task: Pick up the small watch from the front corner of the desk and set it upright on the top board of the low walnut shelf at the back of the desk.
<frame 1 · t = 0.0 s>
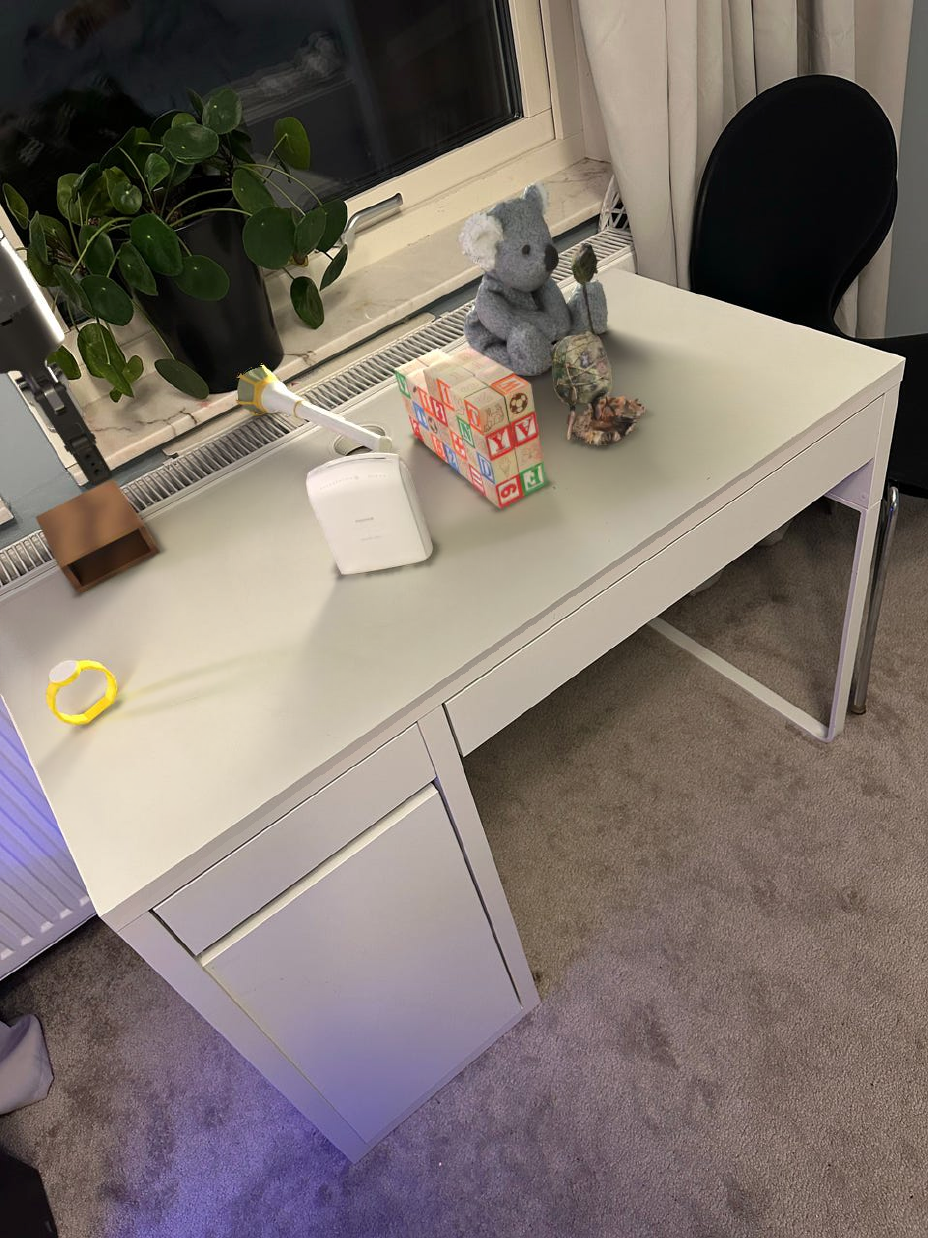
hand: (91, 464, 82), 16 cm above the table, tool pointing down, fingers open, 8 cm apart
stack of blocks: (476, 459, 98), on the table
photo printer: (386, 560, 88), on the table
light stick: (316, 429, 112), on the table
shelf: (106, 548, 101), on the table
watch: (98, 712, 80), on the table
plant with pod: (601, 430, 97), on the table
koala plush: (528, 345, 116), on the table
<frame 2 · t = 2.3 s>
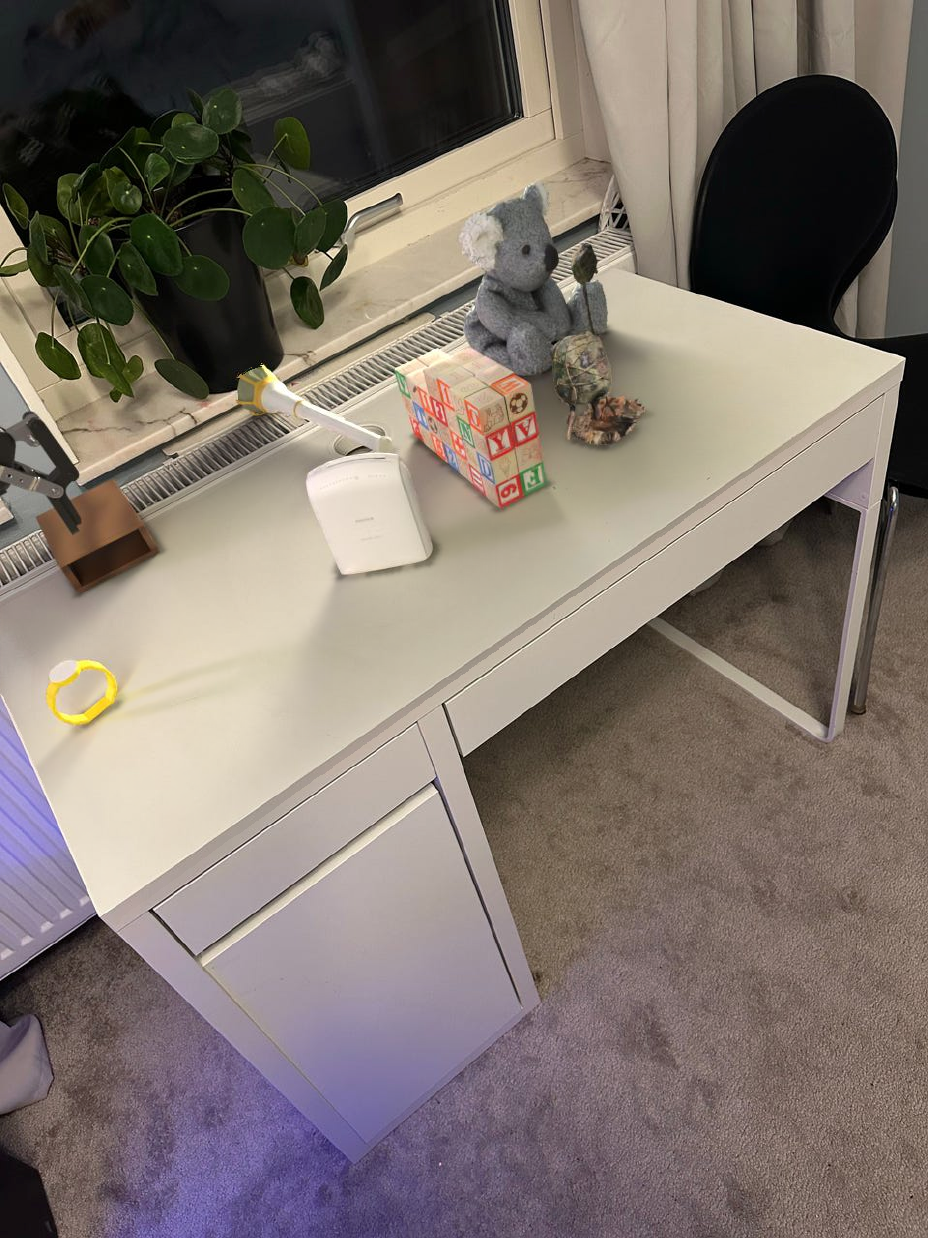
hand: (27, 555, 73), 16 cm above the table, tool pointing down, fingers open, 8 cm apart
nothing on the table moved.
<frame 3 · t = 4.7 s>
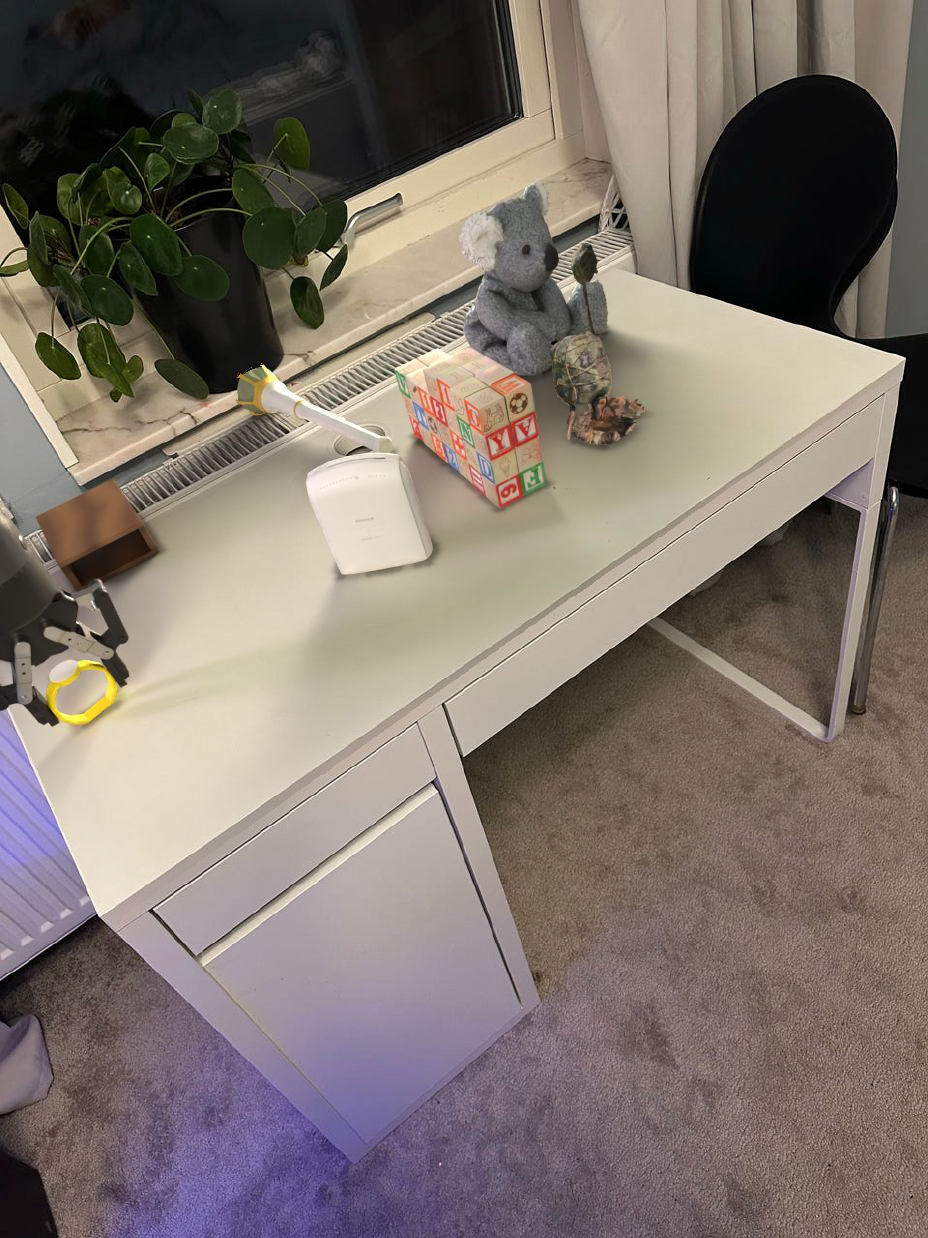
hand: (88, 700, 79), 2 cm above the table, tool pointing down, fingers closed on watch, 6 cm apart
watch: (98, 712, 80), on the table, touching gripper
everything else where it was.
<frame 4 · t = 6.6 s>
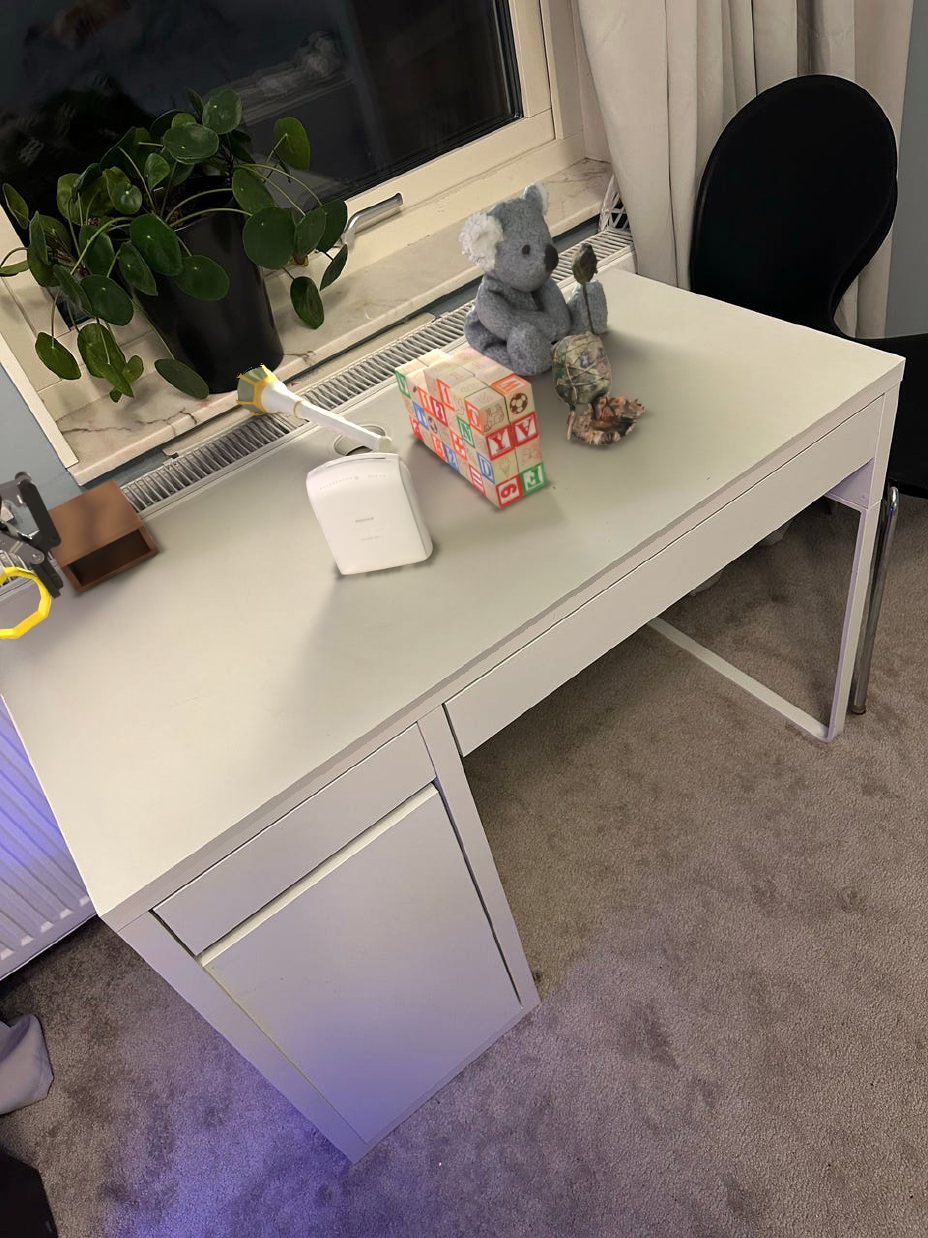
hand: (17, 612, 71), 13 cm above the table, tool pointing down, fingers closed on watch, 6 cm apart
watch: (30, 628, 72), point 11 cm above the table, touching gripper
everything else where it was.
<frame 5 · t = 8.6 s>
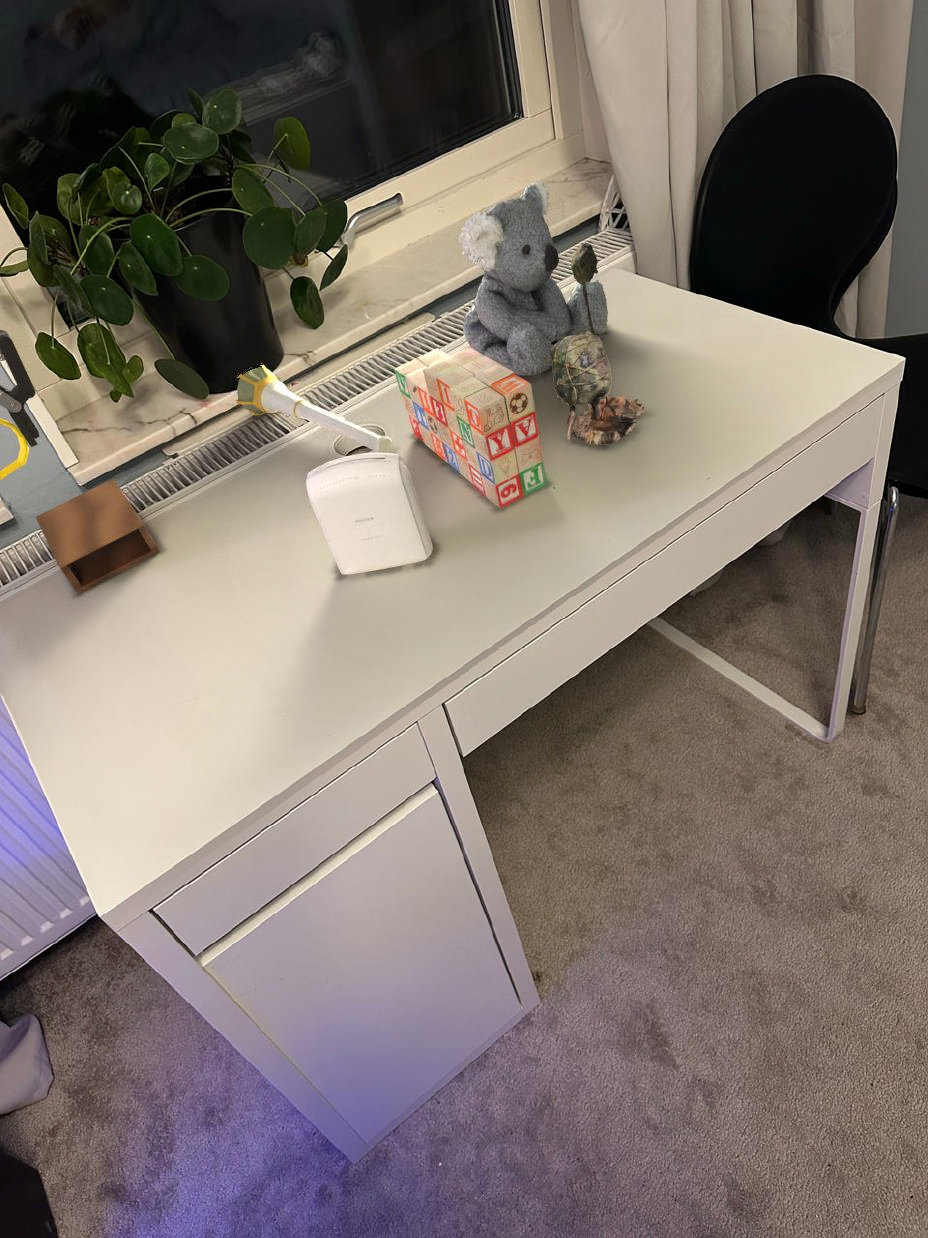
watch: (11, 473, 84), point 16 cm above the table, touching gripper
everything else where it was.
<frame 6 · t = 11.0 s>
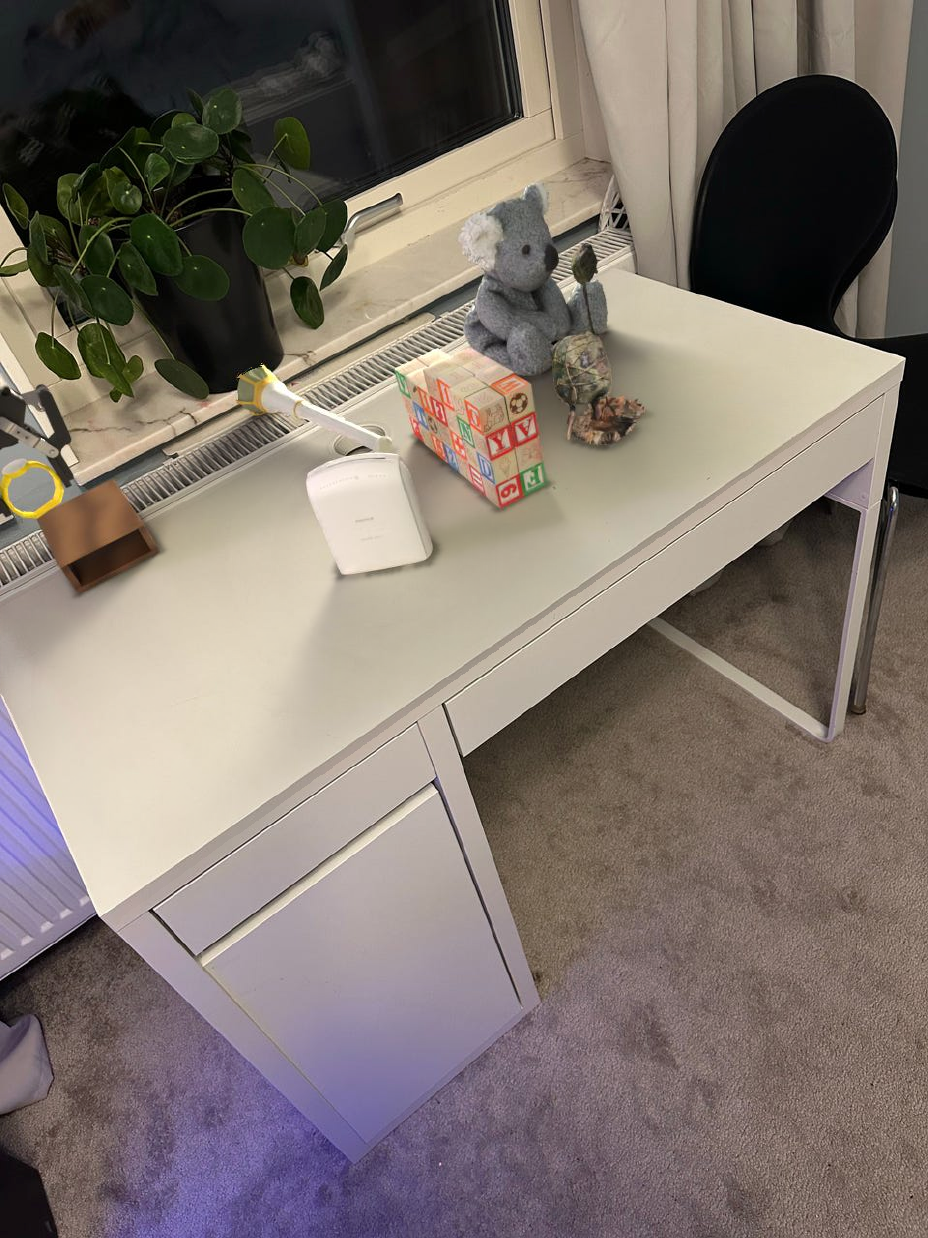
hand: (37, 498, 91), 11 cm above the table, tool pointing down, fingers closed on watch, 6 cm apart
watch: (47, 512, 92), point 9 cm above the table, touching gripper
everything else where it was.
when the fingers open (6 cm above the table, at t = 12.9 s): watch stays where it is, resting on shelf.
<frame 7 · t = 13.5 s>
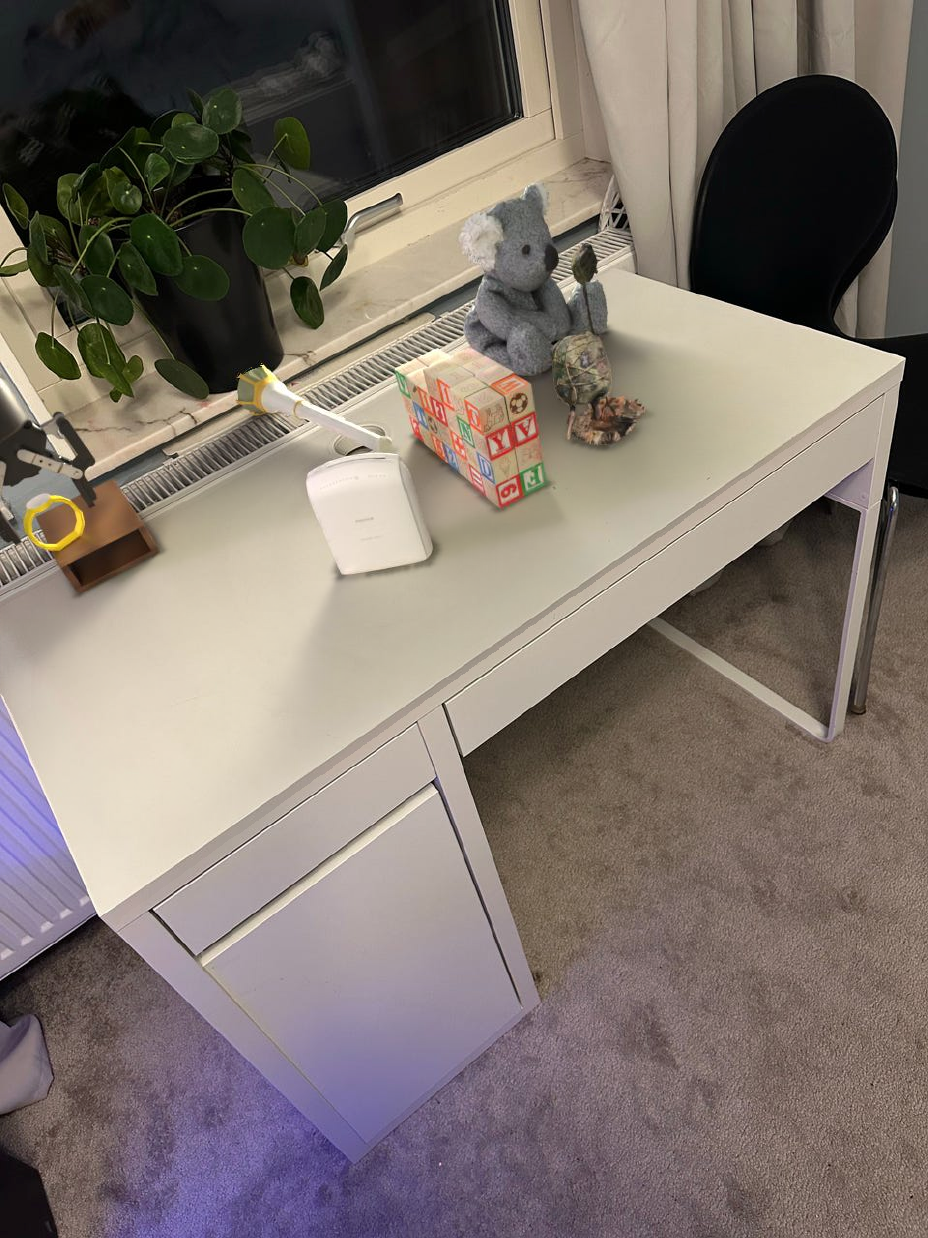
hand: (54, 522, 93), 7 cm above the table, tool pointing down, fingers open, 8 cm apart
watch: (68, 543, 95), point 4 cm above the table, touching shelf
everything else where it was.
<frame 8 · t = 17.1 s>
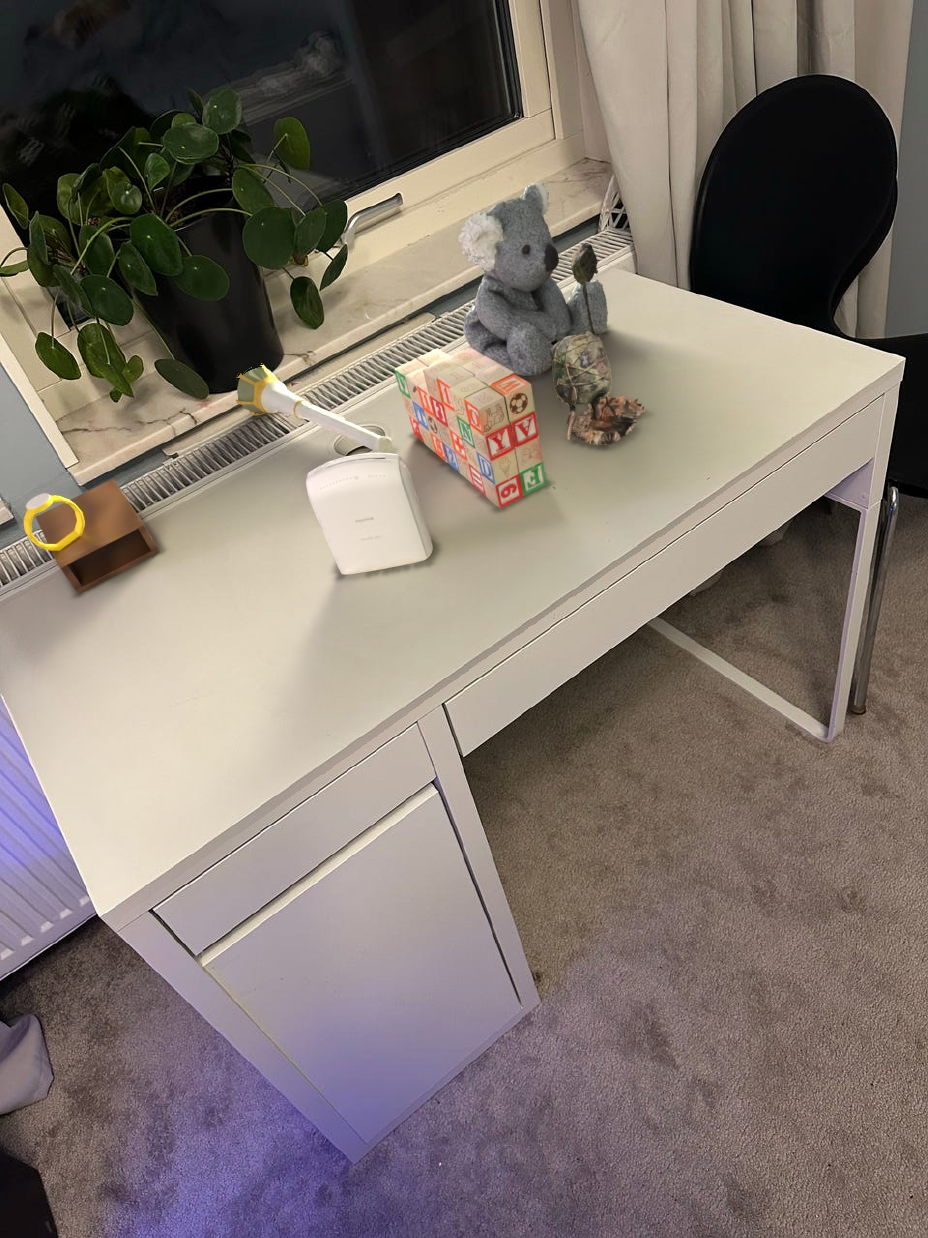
nothing on the table moved.
at the end: watch inside the target area on the shelf (4.3 cm from its centre), point 4.3 cm above the shelf's base; watch tilted 0°; the gripper is holding nothing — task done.
